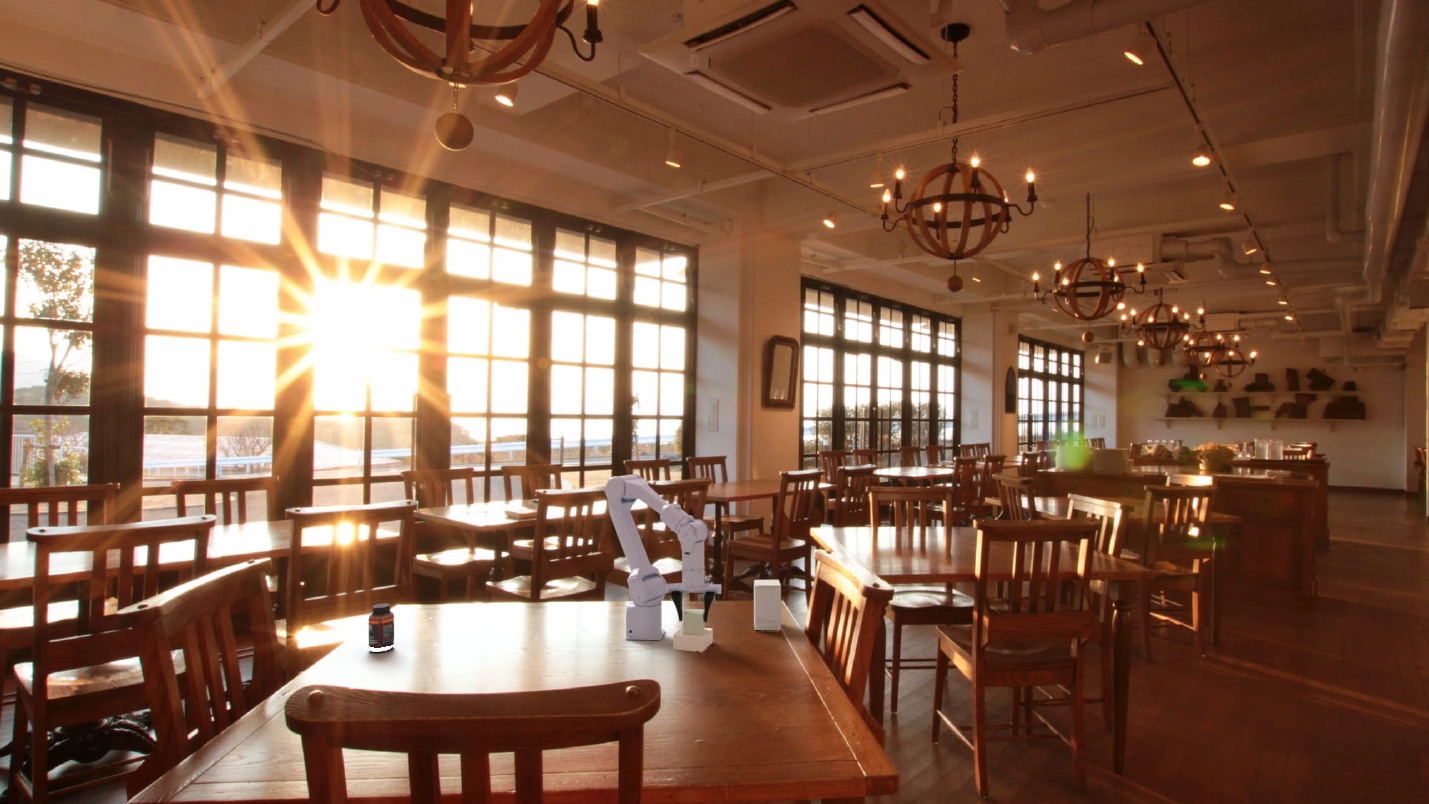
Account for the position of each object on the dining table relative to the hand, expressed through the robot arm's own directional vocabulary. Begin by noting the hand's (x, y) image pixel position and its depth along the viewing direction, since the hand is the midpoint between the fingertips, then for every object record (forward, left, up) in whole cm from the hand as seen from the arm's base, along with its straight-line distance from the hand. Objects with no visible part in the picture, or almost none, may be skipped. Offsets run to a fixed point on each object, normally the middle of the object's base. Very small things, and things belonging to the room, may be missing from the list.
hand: (693, 620), depth 185 cm
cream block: (0, 0, -7) cm, 7 cm away
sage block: (0, 0, -3) cm, 3 cm away
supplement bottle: (-79, -9, -7) cm, 80 cm away
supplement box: (+19, +17, -7) cm, 26 cm away
